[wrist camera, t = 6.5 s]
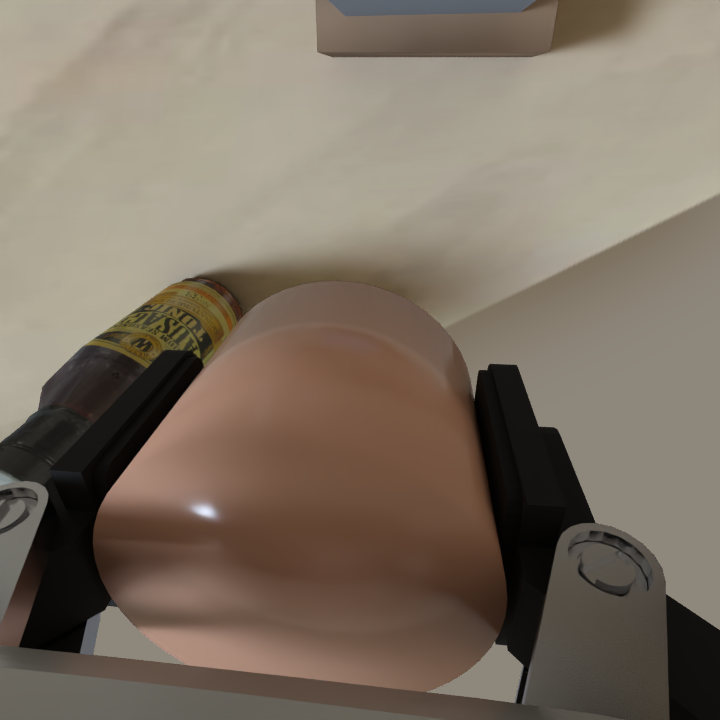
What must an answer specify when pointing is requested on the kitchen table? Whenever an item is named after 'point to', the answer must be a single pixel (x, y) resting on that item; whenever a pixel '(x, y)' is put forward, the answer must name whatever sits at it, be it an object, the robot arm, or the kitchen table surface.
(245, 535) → the terracotta cylinder
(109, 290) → the kitchen table surface
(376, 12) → the tower middle
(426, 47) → the tower base
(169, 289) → the sauce bottle
